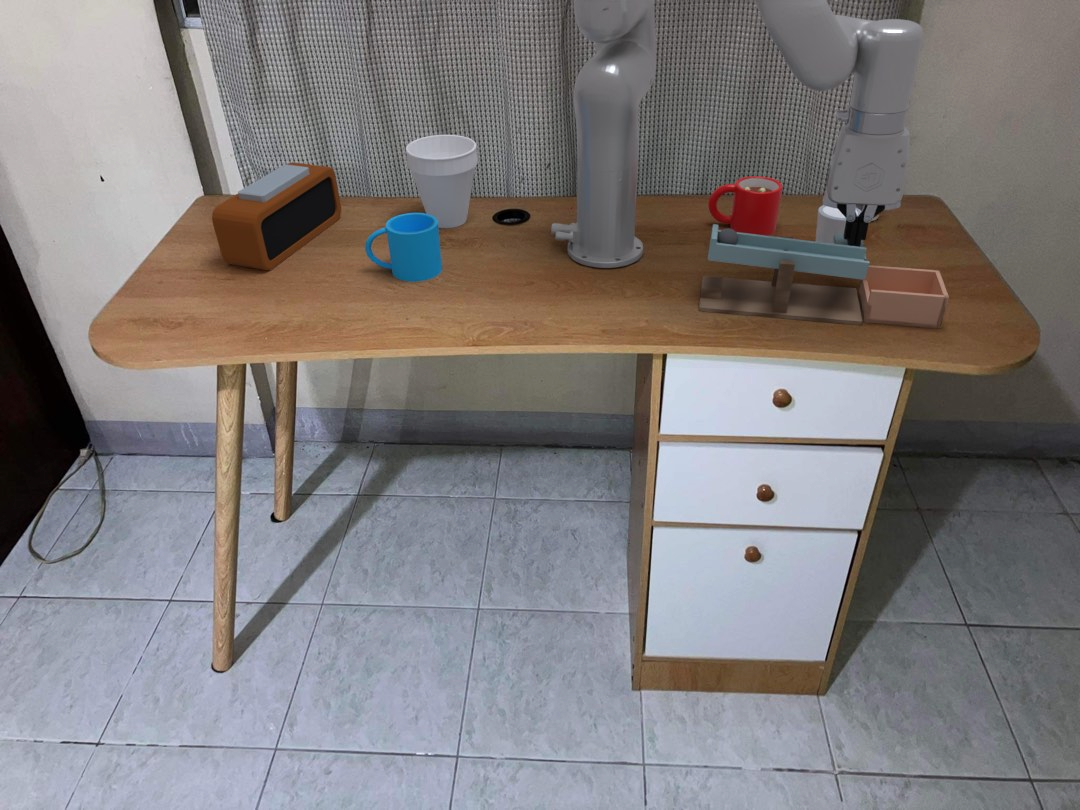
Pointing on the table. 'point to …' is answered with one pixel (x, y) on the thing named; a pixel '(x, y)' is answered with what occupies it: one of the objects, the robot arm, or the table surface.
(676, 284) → the table surface
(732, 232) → the ball
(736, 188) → the mug
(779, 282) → the launcher base
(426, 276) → the mug
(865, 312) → the pink open box
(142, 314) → the table surface
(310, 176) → the alarm clock
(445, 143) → the white flower pot
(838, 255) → the lever
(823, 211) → the white cylinder
